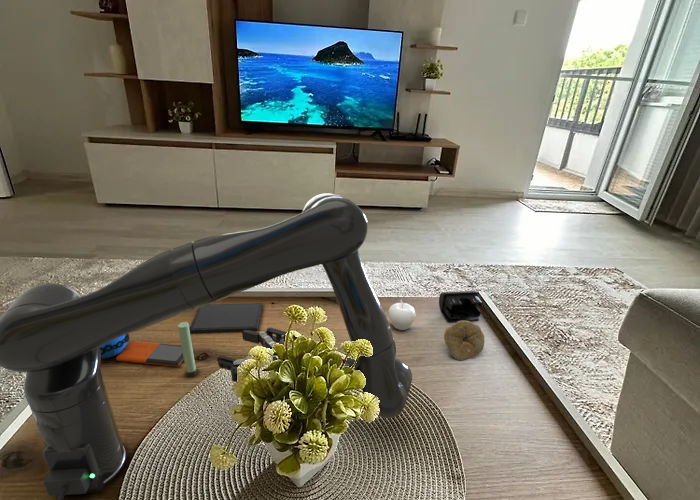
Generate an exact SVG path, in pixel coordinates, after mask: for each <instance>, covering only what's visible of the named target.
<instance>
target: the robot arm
mask: <svg viewBox="0 0 700 500" xmlns="http://www.w3.org/2000/svg"><path fill="white" fill-rule="evenodd" d="M368 231H369V223H368V218H367V216H366V215H365V213H364V211H363V209H361V208H360V206H359V205H357V204H356V203H355V202H353V201H352V200H350V199H348V198H346V197H344V196H341V195H339V194H336V193H330V192H329V193H328V192H327V193H320V194H317V195H315V196H313V197H312V198H310V199H309V200H308V201H307V202H306V203H305V205H304V206H303V208H302V211H301V213H299V214H296V215H294V216H292V217H290V218H286V219H284V220H282V221H280V222H278V223H275V224H272V225H269V226H266V227H262V228H257V229H250V230H244V231H236V232H230V233H223V234H215V235H211V236H207V237H204V238H200V239H197V240H194V241H191V242H188V243H185V244H181V245H179V246H176V247H172V248H169V249H167V250H165V251H163V252H161V253H159V254H156V255H154V256H152V257H150V258H148V259H146V260H145V261H143V262H141V263H140V264H139V265H137V266H135V267H134V268H132V269H130V270H129V271H127V272H126V273H123V275H121V276H119V277H117V279H115V280H113V281H112V282H109V283H108V284H107V285H105V286H103V287H101V288H100V289H97V290H95V291H93V292H90V293H87V294H85V295H81V294H80V293H79V292H77V291H76V290H75V289H73V288H71V287H69V286H66V285H64V284H59V283H42V284H38V285H34V286H32V287H30V288H28V289H26V290H25V291H23V292H22V293H21V294H20V295H18V297H17V298H16V299H15V300H14V301H13V303H12V304H11V305H10V306H9V307H8V308H7V309H6V310H5V312H4V313H3V314H2V315H1V316H0V367H1V368H2V369H4V370H8V371H11V372H16V373H17V372H18V373H26V375H25V379H24V384H23V393H24V398H25V399H26V401H27V404H28V406H29V409H30V411H31V413H32V415H33V418H34V421H35V423H36V426H37V428H38V431H39V434H40V436H41V438H42V440H43V443H44V445H45V448H44V450H43V452H42V456H43V458H44V460H45V464H46V465H47V468H48V470H49V473H48V474H47V476H46V478H45V479H44V480H43V484H44V486H45V488H46V491H47V494H48V495H49V497H54V496H56V497H57V498H56V499H55V500H64V498H65V496H71V495H85V494H99V493H101V492H102V491H103V490H104V487H105V486H106V485H108V484H109V483H110V482H112V481H113V480H114V479H115V478H116V477H117V476H118V475H119V473H120V472H121V471H122V470H123V467H124V466H125V463H126V460H127V453H126V449H125V447H124V445H123V441H122V438H121V435H120V430H119V428H118V425H117V421H116V418H115V415H114V411H113V408H112V404H111V402H110V398H109V394H108V391H107V387H106V383H105V381H104V377H103V374H102V369H101V361H102V358H101V353H100V347H99V346H101V345H103V344H105V343H108V342H110V341H112V340H114V339H116V338H119V337H121V336H123V335H126V334H131V333H134V332H137V331H140V330H143V329H145V328H148V327H151V326H153V325H156V324H158V323H161V322H163V321H166V320H169V319H172V318H174V317H176V316H179V315H182V314H185V313H189V312H192V311H194V310H198V309H199V308H201V307H203V306H206V305H209V304H214V303H217V302H219V301H221V300H224V299H226V298H229V297H231V296H233V295H236V294H239V293H241V292H245V291H247V290H249V289H252V288H255V287H257V286H260V285H262V284H264V283H267V282H270V281H271V280H273V279H276V278H278V277H281V276H284V275H287V274H290V273H293V272H296V271H301V270H305V269H308V268H312V267H316V266H319V265H322V267H323V269H324V271H325V274H326V276H327V278H328V281H329V283H330V285H331V287H332V291H333V293H334V296H335V299H336V301H337V304H338V307H339V311H340V313H341V317H342V319H343V323H344V325H345V328H346V331H347V334H348V336H349V337H348V338H349V340H350V342H351V343H352V341H356V340H358V339H366V340H368V341H370V343H371V345H372V347H373V355H372V356H370V357H365V356H360V357H359V358H358V360H357V363H356V365H355V368H354V369H355V370H360V371H361V372H362V373H363V374H364V376H365V378H366V385H365V387H364V388H363V389H362V388H361V390H362V393H363V392H368V393H371V394H373V395H375V396H377V397H378V398H379V400H380V403H379V408H380V413H379V415H377V416H378V417H380V418H383V419H393V418H396V417H398V416H399V415H401V413H402V412H403V411H404V409H405V407H406V405H407V401H408V398H409V393H410V390H411V386H412V382H413V373H412V370H411V369H410V367H409V366H408V365H407V364H406V363H404V362H403V361H402V360H400V359H397V358H396V356H397V345H396V341H395V338H394V335H393V332H392V328H391V326H390V323H389V320H388V318H387V314H386V313H385V310H384V308H383V305H382V304H381V301H380V300H379V297H378V295H377V293H376V290H375V289H374V287H373V285H372V283H371V281H370V278H369V276H368V274H367V272H366V270H365V267H364V264H363V261H362V258H361V255H360V252H359V249H360V248H361V247H362V246H363V244H364V242H365V240H366V239H367V236H368ZM287 332H288V331H285V330H281V329H278V328H277V329H276V328H274V327H267V328H266V330H265V331H260V332H258V331H247V330H244V331H241V337H242V340H243V341H245V342H249V343H253V344H257V345H259V344H260V347H261V346H263V347H266V348H270V349H272V346H273V344H276V343H279V344H283V345H284V342H285V334H286V333H287ZM247 359H250V356H249V355H247V356H245V358H240V359H236V358H234V357H230V356H226V355H222V354H219V355H218V356H217V358H216V360H217V365H218V368H220V369H223V370H227V371H230V375H231V381H232V382H234V383H238V382H237V367H238V366H239V365H240V364H241V363H242V362H244V361H245V360H247ZM274 360H277V358H276V357H273V361H274ZM354 362H355V360H354V359H351V358H347V361H346V363H345V366H349V367H351V366H352V365H353V364H354ZM240 366H241V365H240Z"/></svg>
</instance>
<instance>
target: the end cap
mask: <svg viewBox="0 0 700 500" xmlns="http://www.w3.org/2000/svg"><path fill="white" fill-rule="evenodd" d="M438 306H439V310H440V312H441V315H442V316H443V318H444V319H445V321H446V322H447V323H448V324H449V323H450V324H451V323H453V324H454V323H456V322H458V321H470V322H478V321H479V319H480V318H479V317H481V314H482V311H481V310H480V308H481V309H482V308H483V302H482V301H481V299H480V298H479V292H478V291H477V290H462V291H460V290H459V291H443V292H441V293H440V294H439V296H438Z"/></svg>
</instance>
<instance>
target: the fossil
mask: <svg viewBox="0 0 700 500" xmlns="http://www.w3.org/2000/svg"><path fill="white" fill-rule="evenodd" d="M485 337H486V336H485V333H484V332H483V330H482V328H481V326H480V325H478V324H477V323H474V322H473V321H458V322H454V323H453V324H452V325H451V326H448V327H447V328H446V329H445V330H444V333H443V340H444V344H445V345H446V348H447V350H448V352H449V354H450V355H451V356H452V358H454V359H455V360H458V361H464V360H466V359H468V358H475V357H477V356H479V355H480V354H481V353H482V351H483V350H484V348H485V347H484V346H485Z"/></svg>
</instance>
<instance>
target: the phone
mask: <svg viewBox="0 0 700 500" xmlns="http://www.w3.org/2000/svg"><path fill="white" fill-rule="evenodd" d="M115 360H116V361H117V362H124V363H125V362H126V363H135V364H144V365H154V366H165V367H176V368H177V367H179V366H180V365H181V364H182V362H183V361H184V356H183V351H182V345H181V344H171V343H170V344H169V343H159V342H156V343H155V342H146V341H137V340H132V341H130V343H129V344H128V345H126V346H125V347H124V349H123V350H122V351H121V352H120V353H118V354H117V355H116V357H115Z"/></svg>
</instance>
